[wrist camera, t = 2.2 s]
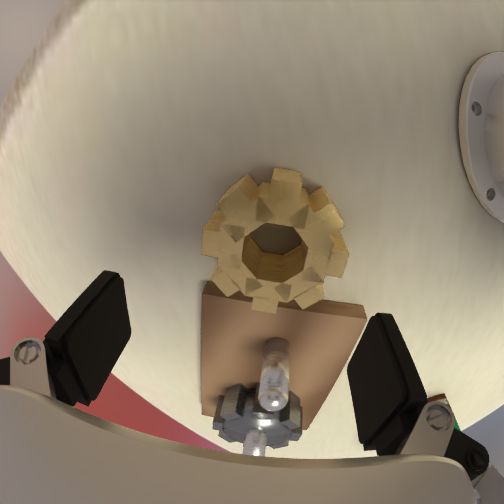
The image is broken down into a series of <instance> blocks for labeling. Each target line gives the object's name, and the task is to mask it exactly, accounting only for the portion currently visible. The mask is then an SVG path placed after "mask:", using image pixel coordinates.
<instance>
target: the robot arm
mask: <svg viewBox="0 0 504 504" xmlns="http://www.w3.org/2000/svg"><path fill="white" fill-rule="evenodd" d="M459 137H460V147H461V152H462V158H463V164H464V167H465V170H466V173H467V177H468V180H469V182H470V185H471V187H472V189H473V191H474V193H475V195H476V197H477V198H478V200H479V201H480V203H481V204H482V206H483V207H484V208H485V209H486V210H487V211H488V212H489V213H490V214H491V215H492V216H493V217H495V218H496V219H498V220H499V221H501V222H502V223H504V51H500V52H494V53H489V54H487V55H485V56H483V57H481V58H480V59H479V60H478V61H477V62H476V63H475V64H473V66H472V68H471V69H470V71H469V73H468V74H467V76H466V79H465V82H464V85H463V89H462V93H461V99H460V105H459ZM130 336H131V326H130V321H129V315H128V309H127V302H126V295H125V288H124V281H123V278H121V277H120V275H119V273H116V272H112V271H107V270H104V271H103V272H102V273H101V274H100V275H99V276H98V277H97V278H96V279H95V280H94V281H93V282H92V283H91V284H90V285H89V286H88V287H87V289H86V290H85V291H84V292H83V293H82V294H81V295H80V296H79V297H78V298H77V299H76V300H75V302H74V303H73V304H72V305H71V306H70V307H69V308H68V309H67V310H66V312H65V313H64V314H63V315H62V316H61V317H60V318H59V320H58V321H57V322H56V323H55V324H54V326H53V327H52V328H51V329H50V330H49V331H48V333H47V334H46V335H45V340H44V341H43V342H42V341H41V340H39V339H38V338H34V337H27V338H24V339H21V340H20V341H18V342H17V343H16V344H15V345H14V346H13V348H12V350H11V354H10V357H8V358H4V359H0V504H504V478H503V476H502V475H501V474H500V473H499V472H498V470H497V469H496V468H495V467H494V466H493V465H490V466H488V465H489V455H488V452H487V450H486V448H485V447H484V446H483V445H481V444H480V443H478V442H477V441H475V440H473V439H472V438H470V437H469V436H467V435H465V434H464V433H462V432H461V431H459V430H458V429H456V428H455V427H454V426H455V416H454V414H453V412H452V410H451V409H450V408H449V407H448V406H447V405H446V404H444V403H442V402H439V401H432V402H429V403H428V401H427V399H426V398H427V395H426V392H425V389H424V387H423V384H422V382H421V379H420V377H419V374H418V372H417V369H416V367H415V364H414V362H413V360H412V357H411V355H410V353H409V350H408V348H407V346H406V344H405V341H404V339H403V337H402V335H401V332H400V330H399V328H398V326H397V324H396V322H395V320H394V318H393V316H392V314H387V313H376V314H375V316H372V317H371V318H370V320H369V322H368V324H367V326H366V329H365V331H364V333H363V335H362V337H361V339H360V341H359V344H358V346H357V348H356V350H355V352H354V354H353V356H352V358H351V360H350V362H349V364H348V367H347V375H348V380H349V385H350V390H351V395H352V401H353V407H354V412H355V418H356V424H357V430H358V437H359V442H360V443H361V444H363V447H364V451H367V450H376V452H377V456H376V457H363V458H343V459H291V458H275V457H263V456H253V455H244V454H236V453H229V452H223V451H217V450H211V449H205V448H200V447H196V446H191V445H187V444H182V443H177V442H174V441H170V440H166V439H162V438H158V437H155V436H151V435H148V434H145V433H141V432H138V431H135V430H132V429H129V428H126V427H123V426H120V425H117V424H115V423H112V422H109V421H106V420H104V419H101V418H98V417H96V416H94V415H91V414H89V413H86V412H84V411H81V410H79V409H77V408H75V407H74V406H75V404H76V402H79V403H82V404H84V405H86V406H89V404H90V403H91V401H92V400H93V401H94V400H95V399H96V398H97V396H98V395H99V393H100V391H101V389H102V387H103V385H104V383H105V382H106V380H107V378H108V376H109V374H110V372H111V371H112V369H113V367H114V365H115V363H116V362H117V360H118V358H119V356H120V355H121V353H122V351H123V349H124V348H125V346H126V344H127V342H128V341H129V339H130Z"/></svg>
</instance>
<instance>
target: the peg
mask: <svg viewBox="0 0 504 504" xmlns="http://www.w3.org/2000/svg"><path fill="white" fill-rule="evenodd" d="M289 370H290V343H289V342H288V341H287V340H286V339H284V338H281V337H273V338H270V339H268V340H267V341H266V343H265V348H264V356H263V364H262V372H261V379H260V387H259V395H258V400H259V403H260V405H261V406H262V407H263V408H264V409H265V410H268V411H278V410H281V409H282V408H284V407H285V405H286V404H287V402H288V395H289Z"/></svg>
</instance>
